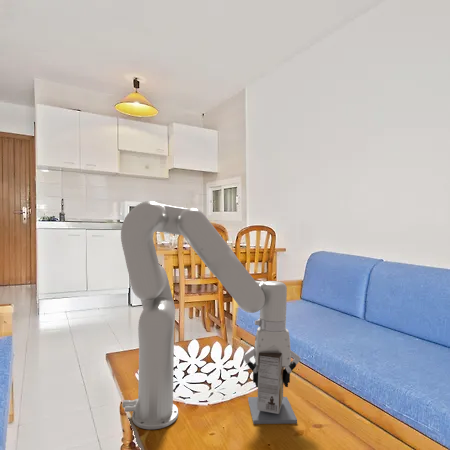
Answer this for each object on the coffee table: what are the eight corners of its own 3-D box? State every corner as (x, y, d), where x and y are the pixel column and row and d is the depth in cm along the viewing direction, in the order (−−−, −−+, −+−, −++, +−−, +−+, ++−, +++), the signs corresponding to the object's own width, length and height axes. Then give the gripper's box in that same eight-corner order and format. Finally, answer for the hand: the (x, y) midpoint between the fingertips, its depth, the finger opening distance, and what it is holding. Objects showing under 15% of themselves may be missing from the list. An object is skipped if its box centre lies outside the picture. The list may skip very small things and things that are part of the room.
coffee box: (262, 394, 102) (263, 342, 102) (283, 398, 100) (284, 344, 100) (256, 410, 93) (258, 353, 93) (279, 415, 91) (281, 356, 91)
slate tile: (253, 423, 90) (253, 420, 90) (248, 400, 102) (248, 397, 102) (297, 423, 91) (297, 419, 91) (286, 400, 103) (286, 396, 103)
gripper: (244, 328, 92) (242, 391, 93) (306, 328, 93) (304, 391, 93) (241, 320, 100) (240, 378, 100) (298, 321, 101) (297, 378, 101)
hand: (271, 384), depth 97 cm, fingers closed on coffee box, 7 cm apart
